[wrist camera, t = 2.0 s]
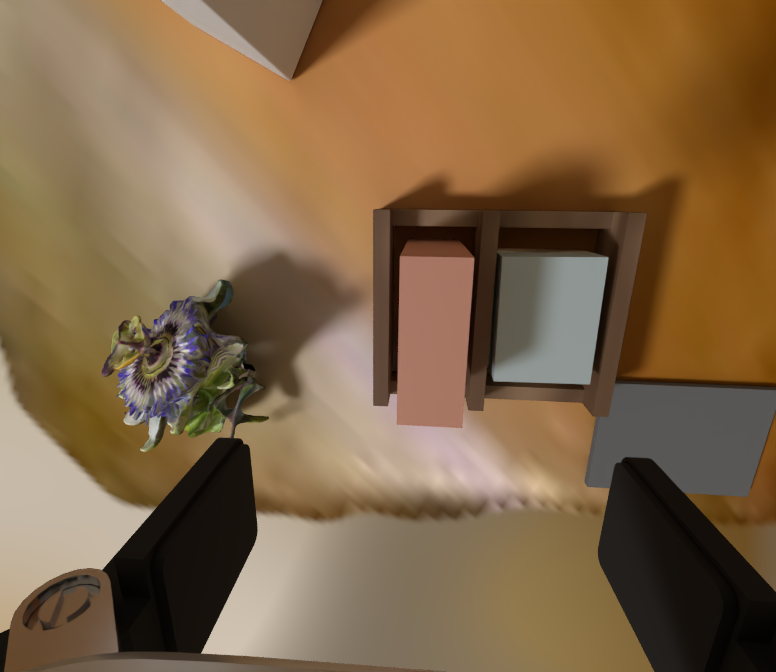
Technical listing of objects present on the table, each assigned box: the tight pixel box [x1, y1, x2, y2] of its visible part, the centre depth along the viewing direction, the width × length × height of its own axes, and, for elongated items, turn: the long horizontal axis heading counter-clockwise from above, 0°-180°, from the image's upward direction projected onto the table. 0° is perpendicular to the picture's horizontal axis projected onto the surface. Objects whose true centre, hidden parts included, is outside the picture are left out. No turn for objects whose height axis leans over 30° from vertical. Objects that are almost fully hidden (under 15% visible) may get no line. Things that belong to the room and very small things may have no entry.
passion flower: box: [102, 280, 269, 452], centre depth 30 cm, size 11×11×12 cm
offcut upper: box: [489, 252, 609, 384], centre depth 27 cm, size 6×8×2 cm
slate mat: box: [585, 380, 776, 497], centre depth 32 cm, size 12×9×1 cm
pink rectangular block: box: [397, 239, 474, 428], centre depth 26 cm, size 4×9×10 cm, turn 179°
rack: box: [373, 209, 647, 417], centre depth 28 cm, size 16×13×4 cm
